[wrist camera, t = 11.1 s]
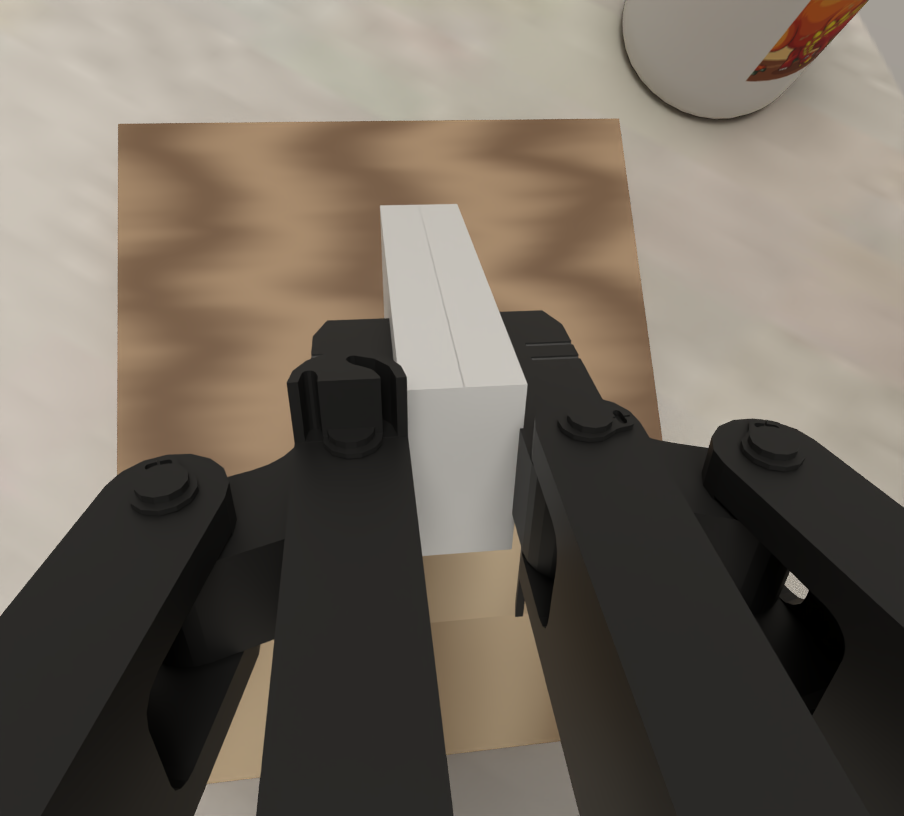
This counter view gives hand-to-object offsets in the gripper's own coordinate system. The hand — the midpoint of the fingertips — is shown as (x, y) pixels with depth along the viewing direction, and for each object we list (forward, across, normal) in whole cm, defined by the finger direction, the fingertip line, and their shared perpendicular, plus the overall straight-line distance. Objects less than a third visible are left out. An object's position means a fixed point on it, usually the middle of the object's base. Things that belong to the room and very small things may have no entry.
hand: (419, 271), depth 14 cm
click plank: (+5, 0, -9) cm, 11 cm away
